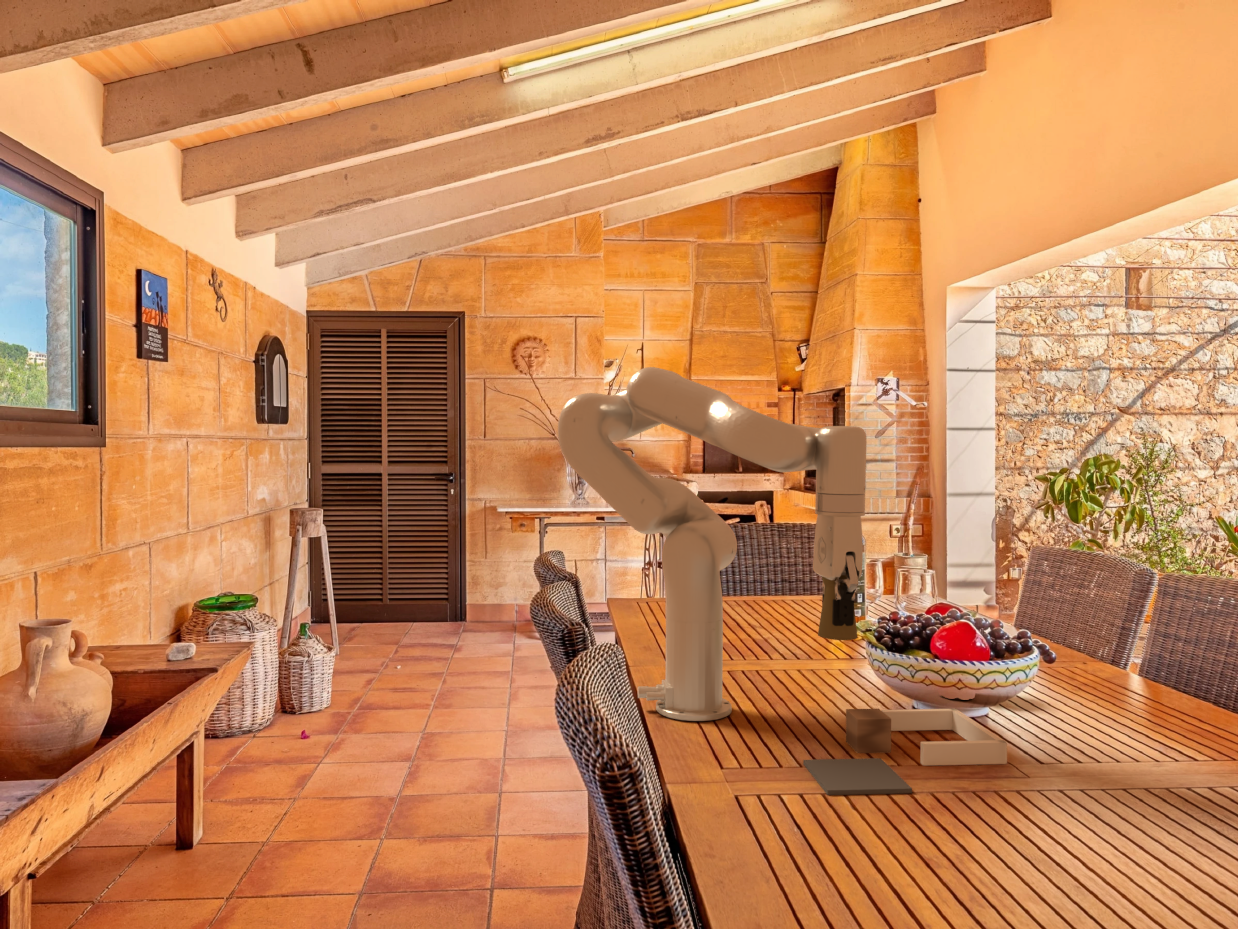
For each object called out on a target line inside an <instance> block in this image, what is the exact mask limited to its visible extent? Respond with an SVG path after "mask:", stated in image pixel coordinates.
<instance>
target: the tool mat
mask: <svg viewBox="0 0 1238 929" xmlns="http://www.w3.org/2000/svg"><path fill="white" fill-rule="evenodd" d="M803 765H804V767H805V768H806V770H807V771H808V772H809V774H811V776H812V777H813V779H814V780H815V781H816V783H818V785H819V786H820V787H821V789H822V790H823V791H824V792H825V794H826V795H827V796H843V795H844V796H846V795H848V796H849V795H852V796H853V795H884V794H885V795H886V794H887V795H888V794H889V795H890V794H893V795H894V794H913V788H912V786H910V785H909V784H908V783H907V781H905V780H904V779H903V778H902V777H901V776H900V775H899V773H897V772H895V770H894V769H893V768H892V767H891V766H889V765H888V764H887V763H886V762H885V761H884V760H883V759H882V758H881V757H878V758H877V757H876V758H875V757H874V758H872V757H871V758H869V757H868V758H826V759H822V758H821V759H803Z"/></svg>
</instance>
